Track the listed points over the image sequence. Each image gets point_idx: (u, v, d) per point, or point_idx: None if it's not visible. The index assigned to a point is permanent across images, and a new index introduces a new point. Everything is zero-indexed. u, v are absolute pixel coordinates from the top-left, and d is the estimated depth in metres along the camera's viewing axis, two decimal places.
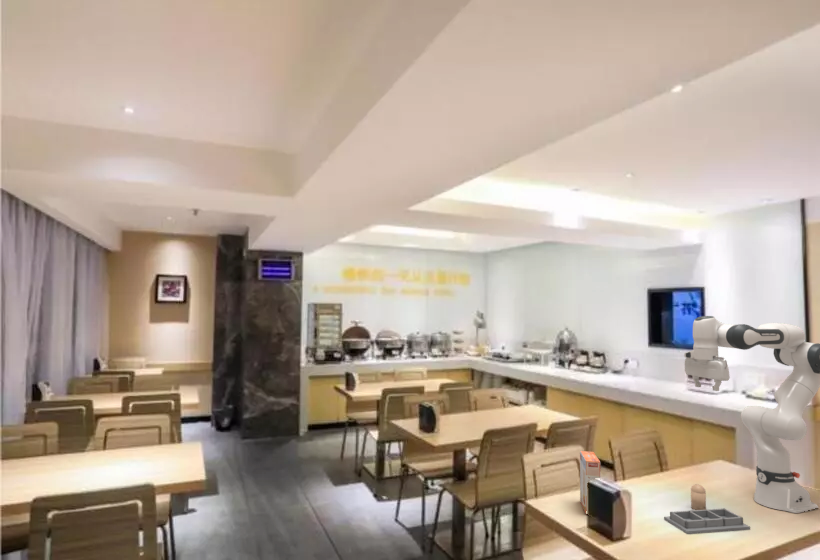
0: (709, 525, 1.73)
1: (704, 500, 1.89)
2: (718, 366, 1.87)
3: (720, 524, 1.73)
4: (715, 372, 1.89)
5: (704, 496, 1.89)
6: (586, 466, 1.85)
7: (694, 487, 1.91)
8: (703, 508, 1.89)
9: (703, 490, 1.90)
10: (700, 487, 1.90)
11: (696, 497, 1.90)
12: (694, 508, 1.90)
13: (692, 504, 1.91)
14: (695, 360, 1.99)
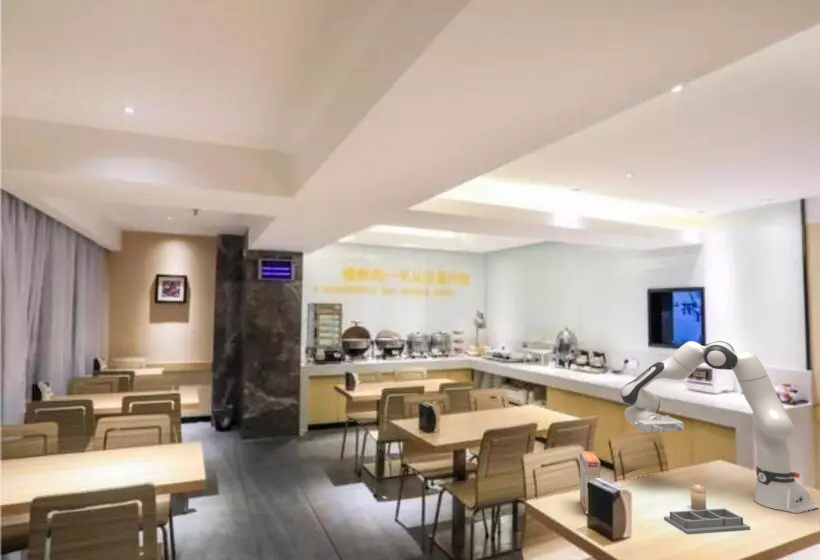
0: (709, 525, 1.73)
1: (704, 500, 1.89)
2: None
3: (720, 524, 1.73)
4: None
5: (704, 496, 1.89)
6: (586, 466, 1.85)
7: (694, 487, 1.91)
8: (703, 508, 1.89)
9: (703, 490, 1.90)
10: (700, 487, 1.90)
11: (696, 497, 1.90)
12: (694, 508, 1.90)
13: (692, 504, 1.91)
14: None
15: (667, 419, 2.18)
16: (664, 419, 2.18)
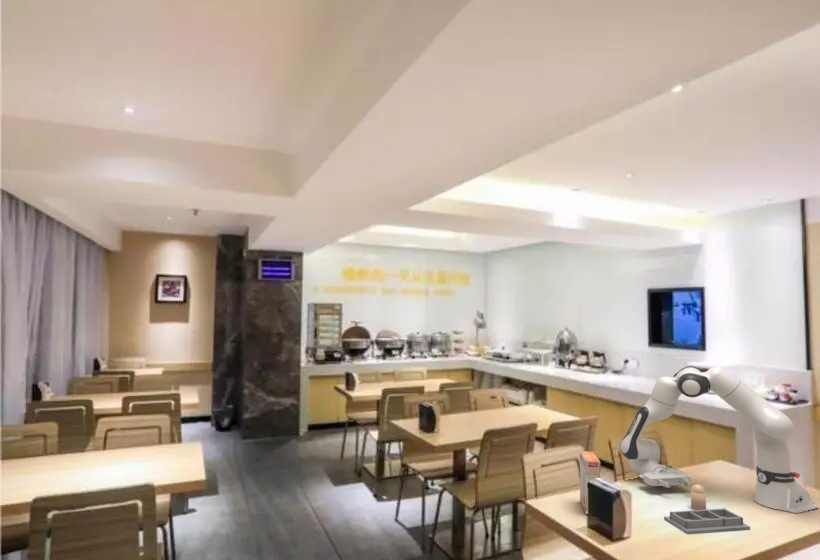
0: (709, 525, 1.73)
1: (704, 500, 1.89)
2: None
3: (720, 524, 1.73)
4: None
5: (704, 496, 1.89)
6: (586, 466, 1.85)
7: (694, 487, 1.91)
8: (703, 508, 1.89)
9: (703, 490, 1.90)
10: (700, 487, 1.90)
11: (696, 497, 1.90)
12: (694, 508, 1.90)
13: (692, 504, 1.91)
14: None
15: (673, 471, 2.13)
16: (670, 472, 2.13)
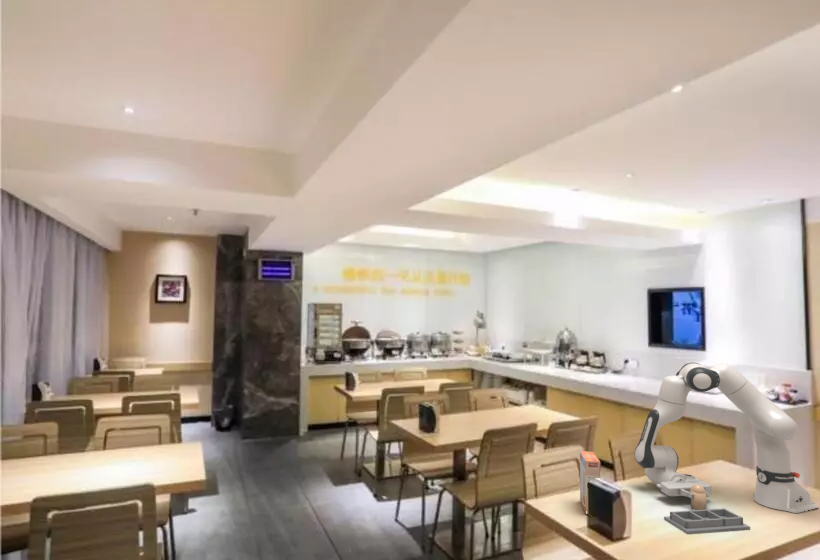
0: (709, 525, 1.73)
1: (704, 500, 1.89)
2: None
3: (720, 524, 1.73)
4: None
5: (704, 496, 1.89)
6: (586, 466, 1.85)
7: (694, 487, 1.91)
8: (703, 508, 1.89)
9: (703, 490, 1.90)
10: (700, 487, 1.90)
11: (696, 497, 1.90)
12: (694, 508, 1.90)
13: (692, 504, 1.91)
14: None
15: (692, 480, 2.02)
16: (689, 481, 2.02)
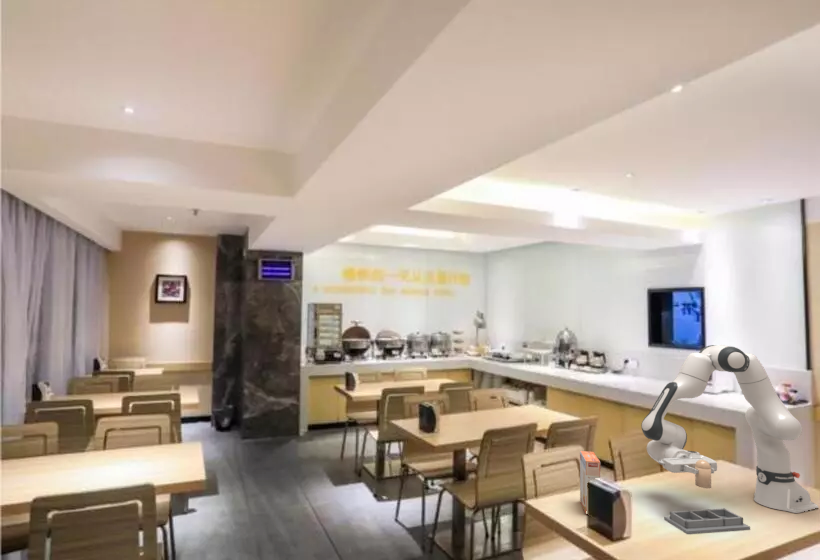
0: (709, 525, 1.73)
1: (709, 476, 1.78)
2: None
3: (720, 524, 1.73)
4: None
5: (709, 472, 1.78)
6: (586, 466, 1.85)
7: (699, 462, 1.80)
8: (708, 485, 1.77)
9: (708, 466, 1.78)
10: (705, 462, 1.79)
11: (701, 473, 1.78)
12: (698, 485, 1.79)
13: (696, 481, 1.80)
14: None
15: (697, 457, 1.90)
16: (694, 457, 1.90)
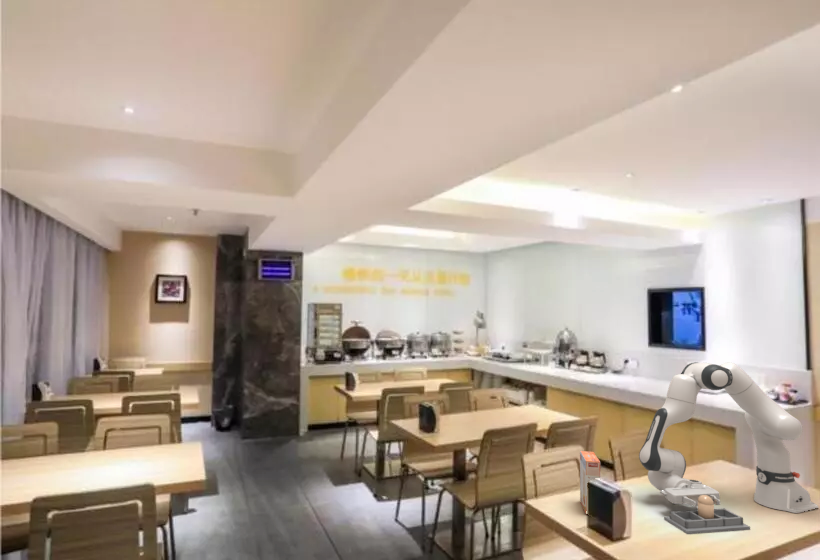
0: (709, 525, 1.73)
1: (712, 512, 1.75)
2: None
3: (720, 524, 1.73)
4: None
5: (712, 508, 1.75)
6: (586, 466, 1.85)
7: (701, 498, 1.77)
8: None
9: (711, 501, 1.76)
10: (708, 498, 1.76)
11: (704, 509, 1.76)
12: None
13: None
14: None
15: (699, 487, 1.88)
16: (696, 487, 1.88)
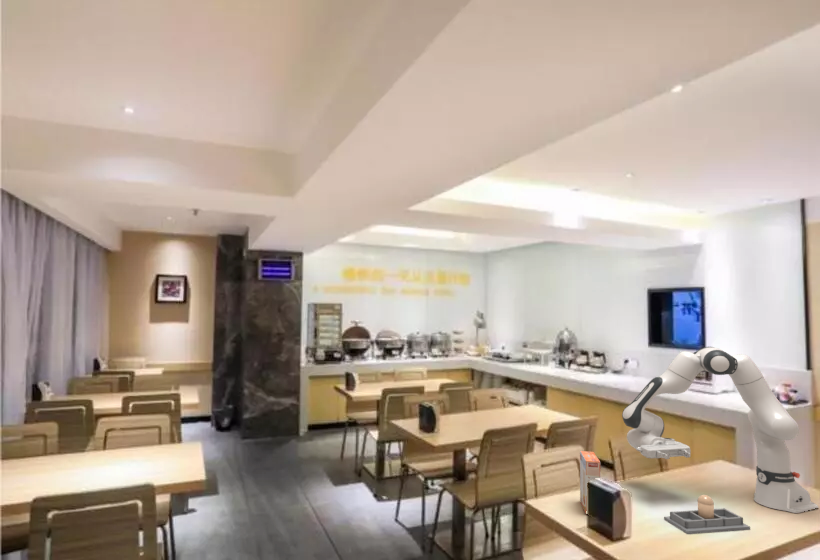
0: (709, 525, 1.73)
1: (712, 512, 1.75)
2: None
3: (720, 524, 1.73)
4: None
5: (712, 508, 1.75)
6: (586, 466, 1.85)
7: (701, 498, 1.77)
8: None
9: (711, 501, 1.76)
10: (708, 498, 1.76)
11: (704, 509, 1.76)
12: None
13: None
14: None
15: (672, 443, 2.04)
16: (669, 443, 2.03)
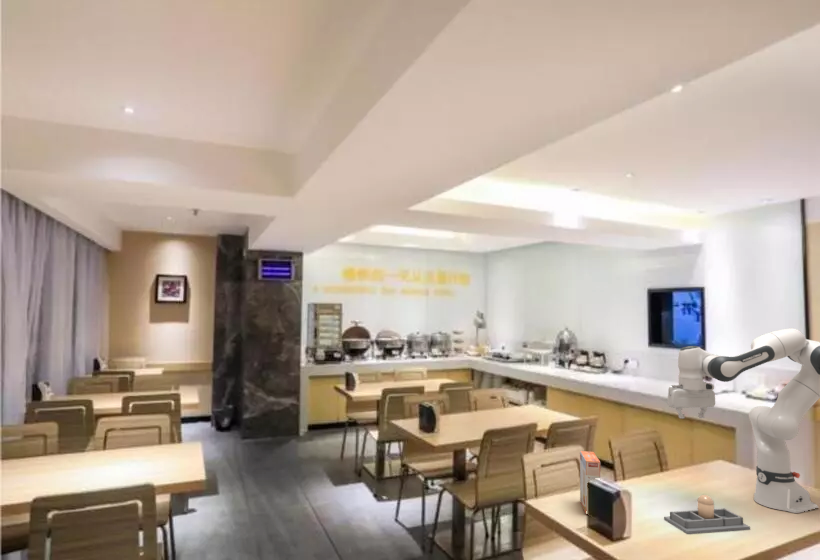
0: (709, 525, 1.73)
1: (712, 512, 1.75)
2: None
3: (720, 524, 1.73)
4: None
5: (712, 508, 1.75)
6: (586, 466, 1.85)
7: (701, 498, 1.77)
8: None
9: (711, 501, 1.76)
10: (708, 498, 1.76)
11: (704, 509, 1.76)
12: None
13: None
14: None
15: (706, 393, 1.98)
16: (703, 393, 1.98)
